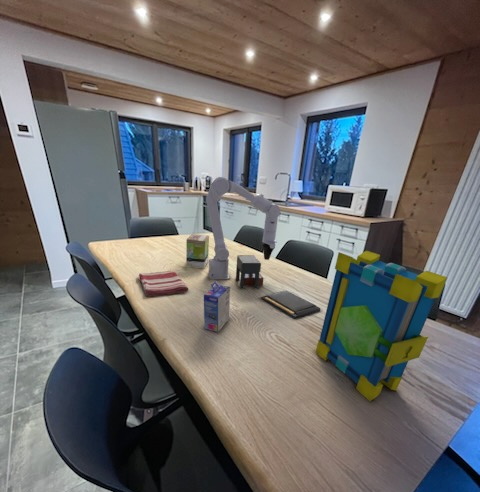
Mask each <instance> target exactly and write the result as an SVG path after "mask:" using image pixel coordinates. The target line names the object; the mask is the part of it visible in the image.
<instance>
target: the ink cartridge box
mask: <svg viewBox="0 0 480 492" xmlns="http://www.w3.org/2000/svg"><path fill="white" fill-rule="evenodd" d="M210 286H211V288H210V289H209V290H208V291H206V292H205V293H204V294H203V322H204V323H203V324H204V329H205V330H209V331H212V332H217V333H218V332H220V331H221V329H222V328H223V327H224V326H225V325H226V323H227V322H228V321H229V319H230V300H231V287H230V286H227V285H223V284H218V282H217V280H214V281H213V282H212V283H211V284H210Z"/></svg>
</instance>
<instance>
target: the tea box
mask: <svg viewBox="0 0 480 492" xmlns="http://www.w3.org/2000/svg"><path fill="white" fill-rule="evenodd" d="M209 243H210V235H205V234H197V233H196V234H195V233H192V234H190V235H189V236H188V238H186V246H185V247H186V249H185V251H186V252H185V253H186V257H185V259H186V262H185V263H186V266H185V267H186V268H193V269H194V268H195V269H205V268H206V266H207V264H208V263H209V251H210V250H209V248H210V244H209Z"/></svg>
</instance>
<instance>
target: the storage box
mask: <svg viewBox="0 0 480 492" xmlns="http://www.w3.org/2000/svg"><path fill="white" fill-rule="evenodd" d="M254 281H255V274H245V279H244V287H254ZM263 286H264V276H263V275H262V274H261V273H259V282H258V287H263Z"/></svg>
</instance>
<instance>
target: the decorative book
mask: <svg viewBox="0 0 480 492" xmlns="http://www.w3.org/2000/svg"><path fill="white" fill-rule="evenodd" d="M380 257H381V255H380V254H378V253H375V252H372V251H369V250H365V251H363V252H362V253H360V254H358V255H357V257H356V258H354V257H353V256H351V255H348V254H345V253H343V252H338V254H337V257H336V262H335V266H334V269H335V272H334V273H335V274H334V277H333V283H332V286H331V290H330V295H329V298H328V303H327V306H326V311H325V315H324V319H323V323H322V328H321V332H320V336H319V339H318V341H317V345H316V350H315V354H317V355H318V356H319V357H320V358H322V359H323V360H324V361H325V362H326V361H328V360H330V362H332V363H333V364H334V365H335V367H337V368H338V369H339V370H340V372H342V373H343V374H345V375H346V376H348V377H349V379H351V380H352V381H353V382H354V383H355V384H356V387H355V389H356V390H357V391H358V392H359V393H360V394H361V395H362V396H363V397H364V398H366V400H367V401H369V402H371V401H373V400H375V398H377V397H378V396H379V395H380V394H381V392H382V390H383V387H384V386H386V387H387V388H388V389H389V390H391V391H397V390H398V388H399V386H400V383H401V382H402V379H403V374H404V372H405V370H406V367H407V365H408V362H409V361H412V360H416V359H419V358H420V356H421V354H422V352H423V350H424V348H425V346H426V343H427V341H428V339H429V336H424V335H421V333H422V330H423V328H424V326H425V324H426V321H427V319H428V317H429V315H430V312H431V310H432V308H433V306H434V303H435V301H436V299H438V298H440V296H441V293H442V292H443V289H444V286H445V285H446V282H447V280H448V276H444V275H442V274H438V273H436V272H433V271H430V270H427V269H426V270H425V271H423V272H420V274H418V273H415V272H412V271H409V270H407V268H406V267H405V266H402V265H399V264H396V263H394V262H389V263H387V262H384V261H381V260H380Z"/></svg>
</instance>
